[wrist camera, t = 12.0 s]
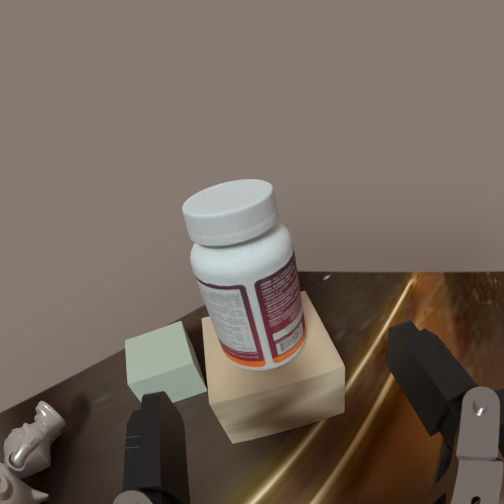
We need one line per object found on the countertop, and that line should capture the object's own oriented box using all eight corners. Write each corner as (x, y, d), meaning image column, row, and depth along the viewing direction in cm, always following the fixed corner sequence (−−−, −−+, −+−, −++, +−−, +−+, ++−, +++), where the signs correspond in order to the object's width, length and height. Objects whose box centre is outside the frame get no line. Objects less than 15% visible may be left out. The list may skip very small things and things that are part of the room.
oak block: (232, 443, 22) (209, 403, 19) (220, 364, 30) (201, 318, 27) (344, 412, 22) (344, 366, 19) (311, 339, 30) (304, 290, 27)
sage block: (147, 410, 26) (127, 384, 24) (141, 367, 31) (125, 340, 29) (207, 390, 27) (193, 362, 25) (194, 349, 32) (181, 320, 30)
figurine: (31, 372, 21) (-74, 482, 7) (98, 430, 21) (8, 559, 8) (26, 415, 25) (-47, 499, 11) (78, 459, 25) (13, 552, 12)
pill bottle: (298, 307, 26) (275, 168, 20) (315, 364, 20) (293, 201, 15) (223, 322, 26) (180, 189, 20) (223, 381, 20) (164, 230, 15)
